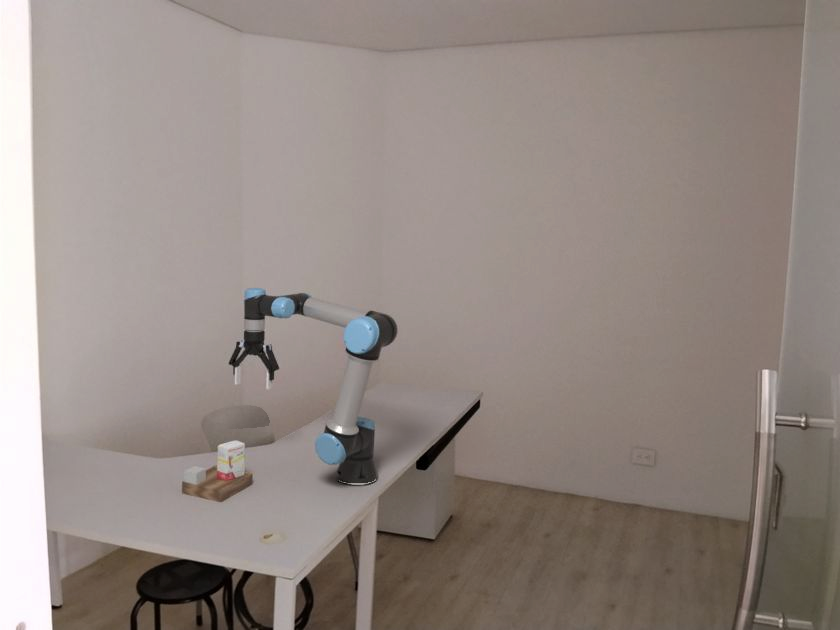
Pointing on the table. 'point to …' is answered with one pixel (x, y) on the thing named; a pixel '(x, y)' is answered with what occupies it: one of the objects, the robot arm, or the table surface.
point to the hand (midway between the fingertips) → (253, 386)
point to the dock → (217, 486)
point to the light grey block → (195, 475)
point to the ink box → (230, 460)
